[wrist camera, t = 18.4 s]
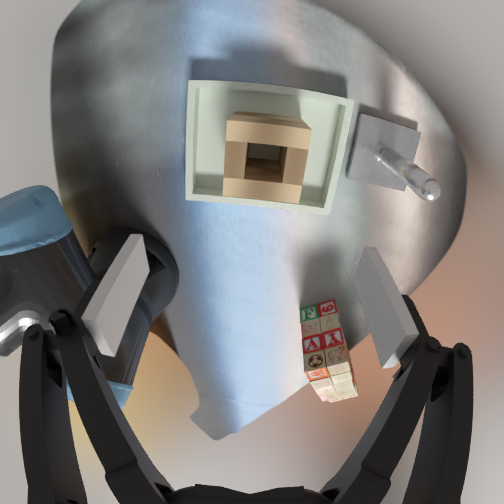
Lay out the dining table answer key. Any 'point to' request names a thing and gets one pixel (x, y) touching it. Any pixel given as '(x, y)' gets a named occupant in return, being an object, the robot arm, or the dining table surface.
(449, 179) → the dining table surface
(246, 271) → the dining table surface
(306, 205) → the tray
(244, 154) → the oak block
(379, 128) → the post
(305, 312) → the stack of blocks
